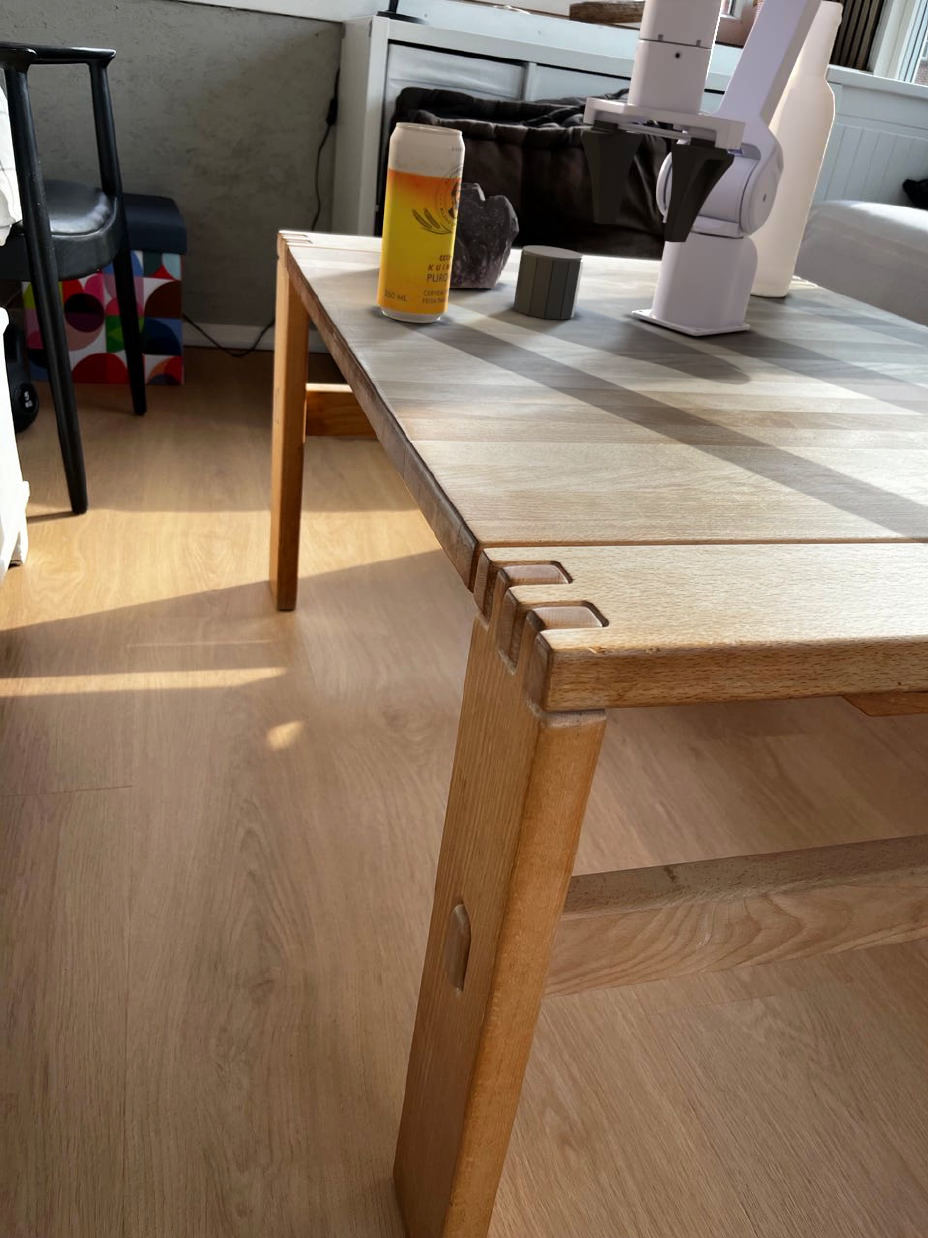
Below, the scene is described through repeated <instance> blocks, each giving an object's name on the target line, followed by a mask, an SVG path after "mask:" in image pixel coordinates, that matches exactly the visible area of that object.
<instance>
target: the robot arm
mask: <svg viewBox="0 0 928 1238" xmlns="http://www.w3.org/2000/svg"><path fill="white" fill-rule="evenodd" d="M644 1H645V2H644V6H643V12H642V18H641V22H640V27H639V28H640V29H639V33H638V39H639V40H638V41H637V46H636V51H635V56H634V62H633V68H632V72H631V78H630V84H629V90H628V95H627V101H626V102H623V101H617V100H611V99H603V98H598V97H597V98H595V97H589V96H588V97H586V100H585V101H586V102H585V106H584V107H585V108H584V114H583V121H582V123H583V124H586V125H587V124H588V125H592V126H591V127H590V129H581V131H580V141H581V144H582V146H583V150H584V153H585V156H586V161H587V163H588V169H589V173H590V174H589V175H590V181H591V189H592V204H593V205H592V206H593V207H592V208H593V223H596V224H600V225H602V224H603V225H604V224H606V225H607V224H608V225H612V224H613V225H615V224H616V222H617V219H618V216H619V213H620V209H621V205H622V201H623V195H624V190H625V185H626V181H627V178H628V175H629V173H630V169H631V166H632V163H633V161H634V158H635V156H636V153H637V151H638V149H639V147H640V145H641V143H642V141H643V139H644V134H647V135H651V136H657V137H663V138H669V139H674V140H678V141H677V142H676V143H674V142H672V143H671V146H670V152H669V153H668V154H667V155H666V158H665V159H664V161H663V163H662V165H661V167H660V170H659V173H658V176H657V182H656V191H655V194H656V195H655V197H656V204H657V206H658V209H659V211H660V213H661V214H662V215H663V220H662V223H664V224H665V225H664V233H663V234H664V235H663V238H664V239H663V241H664V247H663V250H662V251H663V252H662V255H661V256H662V257H661V260H660V261H661V262H660V266H659V271H658V276H657V280H656V285H655V291H654V295H653V300H652V304H651V308H649V309H640V310H639V309H638V310H632V311H631V316H632V317H634V318H637V319H641V320H644V321H647V322H650V323H653V324H655V325H658V326H662V327H665V328H669V329H671V330H675V331H677V332H681V333H683V334H687V335H688V336H689V335H690V336H694V337H699V336H708V335H717V334H726V333H733V332H742V331H749V330H750V329H751V325H750V324H749V323H745V318H746V313H747V309H748V305H749V301H750V298H751V297H750V296H751V294H750V293H751V289H752V285H753V281H754V277H755V273H756V270H757V264H758V255H757V250H756V246H755V244H754V242H753V241H752V239H751V238H750V237H749V236H750V235H752V234H753V233H754V232H756V231H757V230H758V229H759V228H760V227H762V226H763V225H764V223H765V222H766V220H767V219H768V217H769V215H770V212H771V210H772V207H773V205H774V201H775V198H776V193H777V188H778V183H779V180H780V177H781V174H782V172H783V169H784V161H783V152H782V148H781V145H780V143H779V142H778V140H777V139H776V137H775V136H774V135H773V133H772V132H771V131H770V129H769V128H768V127H769V125H770V123H771V120H772V118H773V116H774V113H775V111H776V108H777V106H778V104H779V101H780V99H781V97H782V94H783V92H784V89H785V87H786V85H787V82H788V80H789V78H790V75H791V74H792V70H793V68H794V66H795V63H796V61H797V59H798V56H799V54H800V51H801V49H802V47H803V44H804V42H805V40H806V37H807V35H808V32H809V30H810V28H811V25H812V23H813V21H814V18H815V16H816V13H817V11H818V9H819V6H820V4H821V2H822V1H823V0H762V3H761V6H760V7H759V9H758V13H757V15H756V18H755V19H754V22H753V24H752V26H751V30H750V32H749V34H748V36H747V38H746V41H745V44H744V46H743V49H742V51H741V53H740V55H739V58H738V60H737V63H736V65H735V67H734V70H733V73H732V75H731V77H730V79H729V82H728V84H727V86H726V89H725V91H724V94H723V96H722V99H721V101H720V104H719V106H718V108H717V109H716V110H714V111H713V112H712V113H710V114H707V115H705V114H700V111H701V107H702V103H703V97H704V93H705V89H706V83H707V78H708V74H709V70H710V64H711V61H712V54H713V50H714V46H715V41H716V36H717V32H718V26H719V22H720V17H721V14H722V8H723V3H724V0H644ZM648 121H652V122H653V121H654V122H660V123H667V124H672V125H673V126H672V129H673V130H669V129H663V128H658V127H652V126H646V125H642V124H647V123H648ZM635 123H636V124H635ZM637 123H639V124H637ZM640 123H641V125H640ZM675 130H676V131H675ZM681 131H682V132H681Z"/></svg>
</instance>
